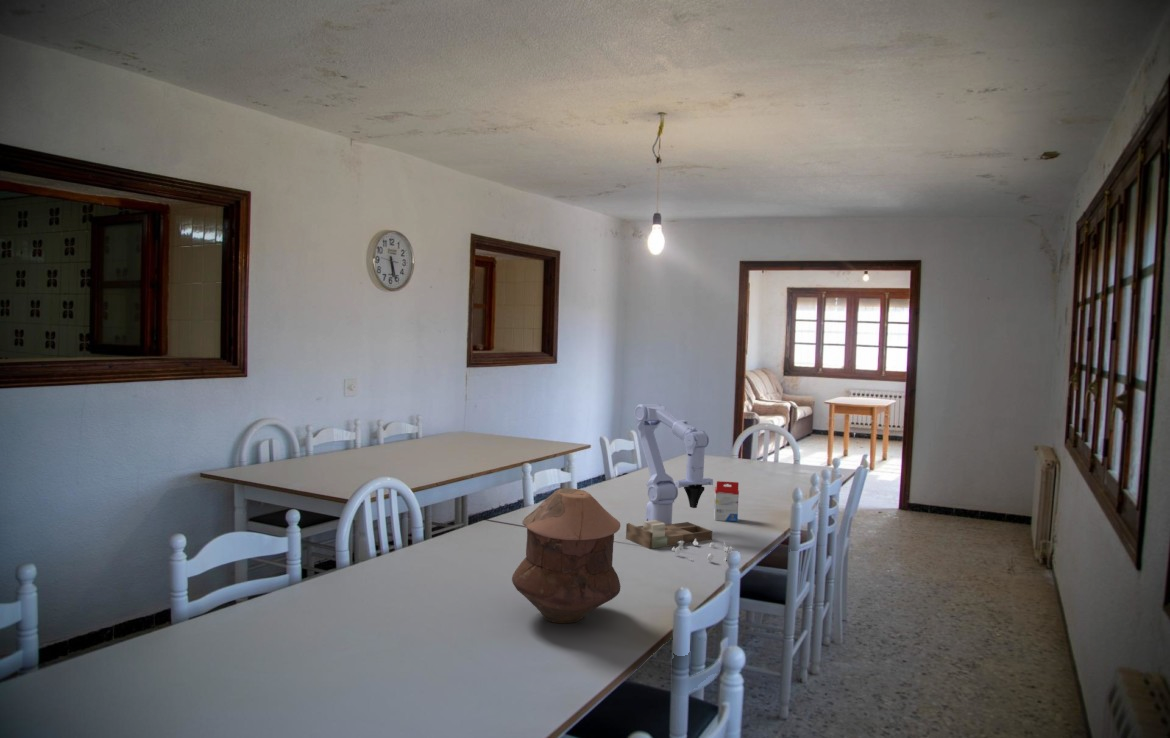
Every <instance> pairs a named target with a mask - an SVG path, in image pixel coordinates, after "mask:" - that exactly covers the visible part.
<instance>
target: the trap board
mask: <svg viewBox="0 0 1170 738" xmlns="http://www.w3.org/2000/svg"><path fill="white" fill-rule="evenodd" d="M652 536H653V533H652V532H649V531H647V530H644V529H643V525H634V524H633V523H630V522H628V523H626V529H625V539H626V540H629V541H631V542H632V543H635V544H638V545H640V546H643V547H644V548H647V549H649V550H650V549H658V548H664V547H665V548H666V547H670V546H673V547H674V546H679V544H678V541H684V543H683V545H687V544H693V542H694V541H695V539H696V541H697V542H698V543H701V542H707V541H713V530H711V529H707V528H705V527H702V526H699V525H696V524H695V523H691V522H689V521H685V522H676V523H672V524H668V525H665V536H661V537H654V538H652Z"/></svg>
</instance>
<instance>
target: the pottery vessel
mask: <svg viewBox="0 0 1170 738" xmlns="http://www.w3.org/2000/svg"><path fill="white" fill-rule="evenodd" d="M521 523H522V525H523V526H525V528H526V544H525V547H526V548H525V557H524V559H523V560H522V561H521V562H520V564H519V565H518V567H517V568H516V569H515V571H514V572H513V574H512V577H511V583H512V584H513V586H514V587H515V589H516V590H517V592H519V593H520V594H521V595H522V596H524V598H526V599H527V601H529V602H530V603H531V604H532V605H533V607H534V608H535V609H537V610H538V611H539V613H541V614H542V616H543V618H544V619H545V620H547V621H549V622H552V623H556V624H569V623H570V624H571V623H575V622H579V621H581V620H582V618H583V617H584V615H586V614H588V613H590V612H591V611H593V610H595V609H597V608H599V607H600V606H602V605H604V604H606V603H607V602H610V601H612V600H613V599H615V598H617V596H618V595H619V594H620V591H621V583H620V578H619V576H618V574H617V572H616V570H615V568H614V567H613V559H614V558H613V557H614V556H613V555H614V543H615V542H614V541H615V534H616V533H617V532H619V530H620V529H621V522H620V521H619V520H618V519H617V518H616V517H614V516H613V515H612V514H611V513H610V512H608V511H607V510H606V509H605V508H604V507H603V505H601V504H600V503H599V501H597V499H596V498H595V497H594V496H592V494H591V493H589V492H587V491H586V490H583V489H577V488H571V487H568V488H565V487H564V488H559V489H556V490H555V491H554V492H552V494H550V495H549V496H548V497H547V498H546V499H544V500H543V502H541V503H540V504H539V505H538V506H537V507H536V508H535V509H534V510H533V511H531V513H529V514H528V515H526V516H525V517H524V518H523V520H522V522H521Z"/></svg>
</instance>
